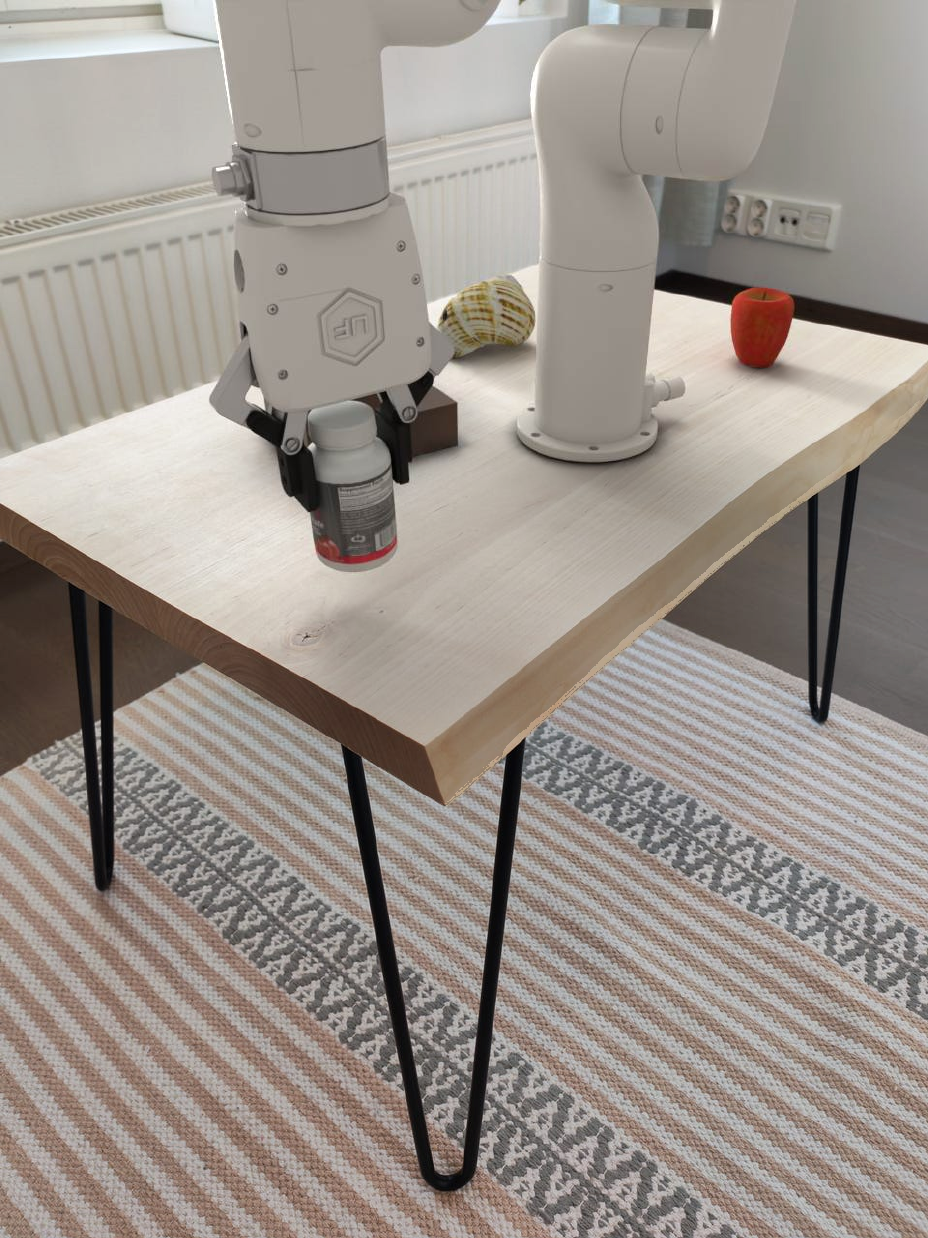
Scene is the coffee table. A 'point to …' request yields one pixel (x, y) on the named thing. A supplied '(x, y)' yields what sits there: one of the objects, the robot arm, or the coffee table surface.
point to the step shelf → (420, 421)
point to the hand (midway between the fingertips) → (349, 485)
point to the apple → (760, 325)
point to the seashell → (488, 315)
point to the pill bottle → (351, 489)
